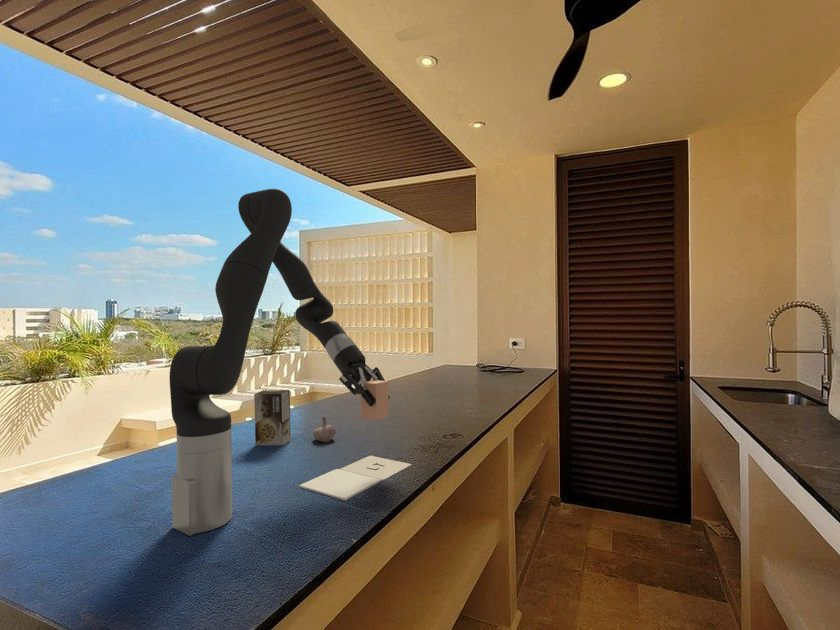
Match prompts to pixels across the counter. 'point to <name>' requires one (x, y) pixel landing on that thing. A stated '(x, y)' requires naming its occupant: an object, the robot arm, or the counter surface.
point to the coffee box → (272, 417)
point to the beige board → (340, 484)
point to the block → (382, 404)
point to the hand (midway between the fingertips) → (380, 402)
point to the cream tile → (376, 467)
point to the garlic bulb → (324, 432)
